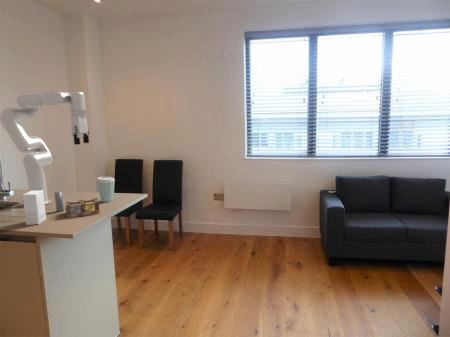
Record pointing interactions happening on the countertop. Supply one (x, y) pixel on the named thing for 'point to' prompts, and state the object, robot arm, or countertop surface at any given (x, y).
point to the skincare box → (34, 207)
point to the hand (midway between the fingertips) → (81, 143)
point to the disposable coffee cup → (106, 188)
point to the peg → (59, 201)
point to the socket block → (82, 207)
